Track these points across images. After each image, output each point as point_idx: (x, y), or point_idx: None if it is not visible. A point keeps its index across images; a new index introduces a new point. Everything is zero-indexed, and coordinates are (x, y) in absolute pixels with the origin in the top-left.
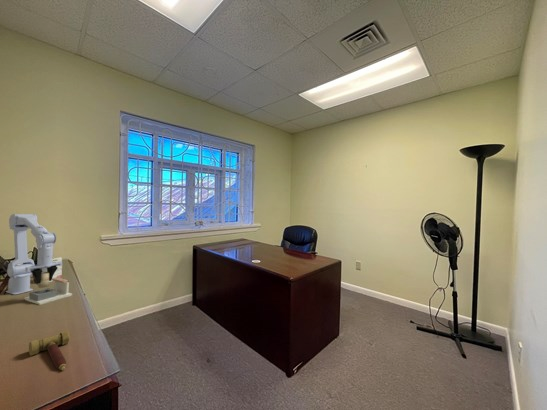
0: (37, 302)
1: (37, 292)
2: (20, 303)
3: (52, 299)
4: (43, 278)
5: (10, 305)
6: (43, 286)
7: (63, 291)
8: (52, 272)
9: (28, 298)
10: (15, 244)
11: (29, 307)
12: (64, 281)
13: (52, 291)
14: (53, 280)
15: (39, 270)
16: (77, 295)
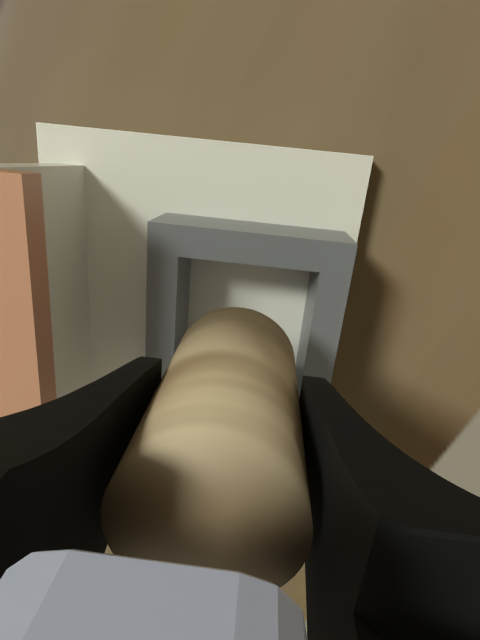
0: (362, 207)
1: None
2: (388, 371)
3: (247, 144)
4: (272, 392)
5: (445, 397)
6: (267, 322)
7: (75, 231)
8: (65, 423)
9: None
10: None
11: (449, 179)
12: (10, 171)
13: (194, 233)
14: None
15: (411, 617)
16: (15, 56)
